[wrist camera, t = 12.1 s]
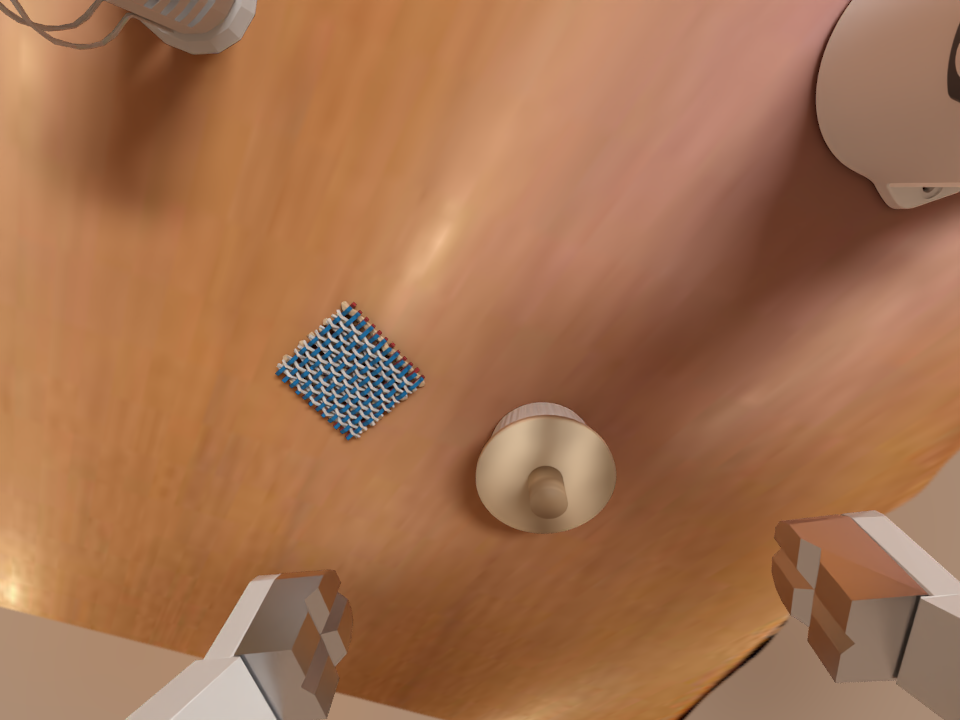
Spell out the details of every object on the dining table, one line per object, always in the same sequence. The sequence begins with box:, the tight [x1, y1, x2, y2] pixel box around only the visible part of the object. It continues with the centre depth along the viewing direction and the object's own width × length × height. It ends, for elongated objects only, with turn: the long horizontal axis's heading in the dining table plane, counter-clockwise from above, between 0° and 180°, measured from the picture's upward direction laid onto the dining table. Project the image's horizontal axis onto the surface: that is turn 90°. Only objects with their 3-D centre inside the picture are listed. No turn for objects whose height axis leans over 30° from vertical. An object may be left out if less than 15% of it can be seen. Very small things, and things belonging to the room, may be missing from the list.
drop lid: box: [476, 415, 616, 534], centre depth 37 cm, size 12×12×4 cm
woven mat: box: [275, 301, 425, 440], centre depth 41 cm, size 10×11×2 cm
